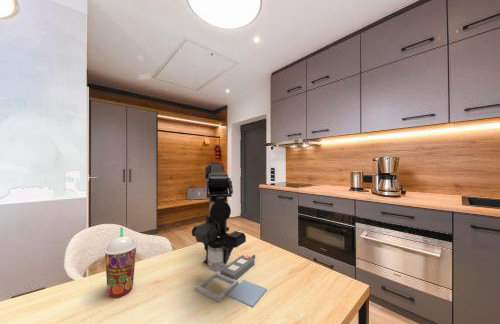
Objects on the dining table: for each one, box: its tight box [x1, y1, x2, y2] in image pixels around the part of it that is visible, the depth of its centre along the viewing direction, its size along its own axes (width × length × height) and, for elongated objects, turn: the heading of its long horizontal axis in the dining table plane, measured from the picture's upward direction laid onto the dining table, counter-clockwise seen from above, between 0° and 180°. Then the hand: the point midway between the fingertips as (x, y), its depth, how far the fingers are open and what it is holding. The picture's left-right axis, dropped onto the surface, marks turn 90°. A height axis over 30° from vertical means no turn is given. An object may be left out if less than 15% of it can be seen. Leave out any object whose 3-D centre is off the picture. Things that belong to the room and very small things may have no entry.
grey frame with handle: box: [194, 254, 256, 303], centre depth 72 cm, size 10×29×3 cm, turn 148°
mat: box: [227, 279, 268, 308], centre depth 61 cm, size 9×9×1 cm
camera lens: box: [207, 241, 228, 273], centre depth 64 cm, size 6×6×8 cm
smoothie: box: [104, 226, 138, 298], centre depth 61 cm, size 8×8×20 cm
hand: (217, 260), depth 64 cm, fingers closed on camera lens, 6 cm apart
